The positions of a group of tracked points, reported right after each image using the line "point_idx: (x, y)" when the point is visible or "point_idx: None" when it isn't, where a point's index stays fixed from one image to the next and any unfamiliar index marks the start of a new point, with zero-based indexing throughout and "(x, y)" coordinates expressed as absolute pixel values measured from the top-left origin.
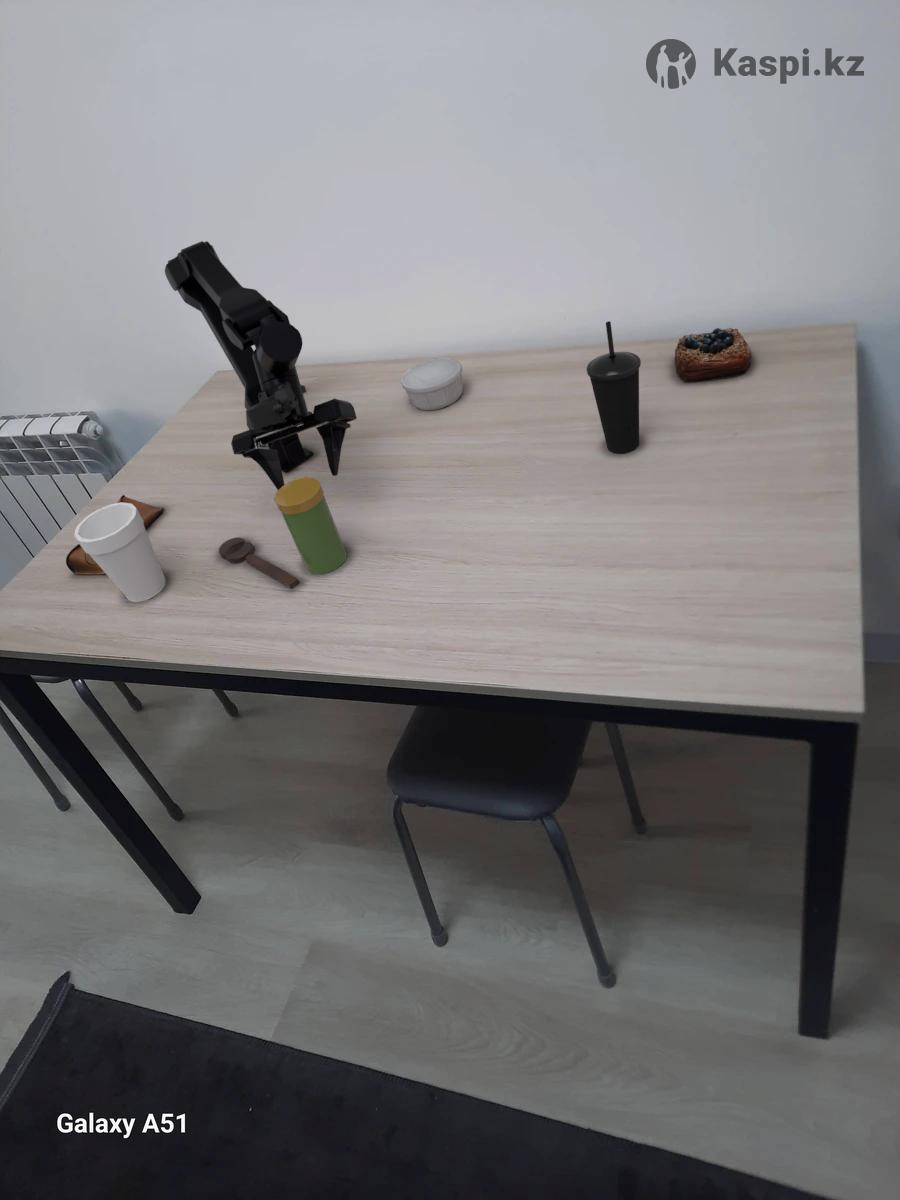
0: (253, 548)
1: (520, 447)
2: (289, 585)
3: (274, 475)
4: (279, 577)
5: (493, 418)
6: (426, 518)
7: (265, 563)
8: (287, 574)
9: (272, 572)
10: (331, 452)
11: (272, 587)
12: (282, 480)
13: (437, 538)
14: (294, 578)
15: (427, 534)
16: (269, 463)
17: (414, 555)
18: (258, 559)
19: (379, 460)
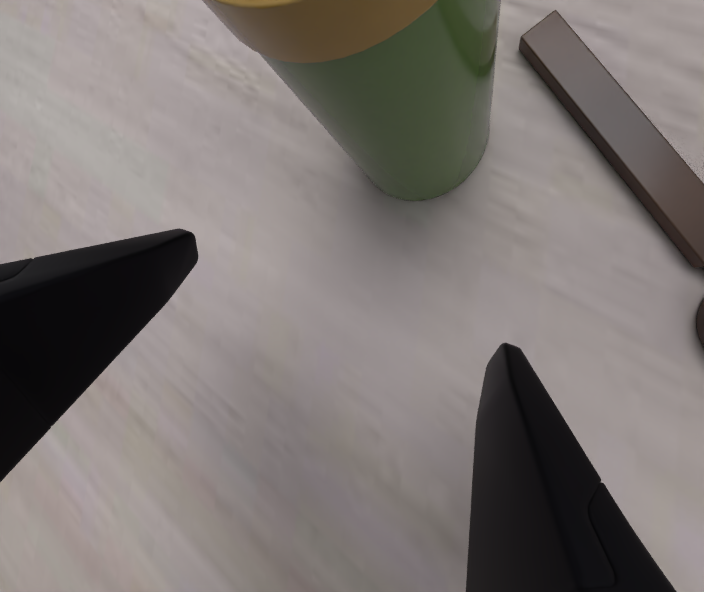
0: (701, 319)
1: None
2: (556, 11)
3: (525, 427)
4: (592, 63)
5: (12, 499)
6: (172, 206)
7: (649, 170)
8: (558, 72)
9: (620, 104)
10: (44, 260)
11: (626, 53)
12: (481, 430)
13: (168, 119)
14: (533, 40)
15: (181, 143)
16: (551, 556)
17: (217, 73)
18: (682, 212)
19: (219, 545)
